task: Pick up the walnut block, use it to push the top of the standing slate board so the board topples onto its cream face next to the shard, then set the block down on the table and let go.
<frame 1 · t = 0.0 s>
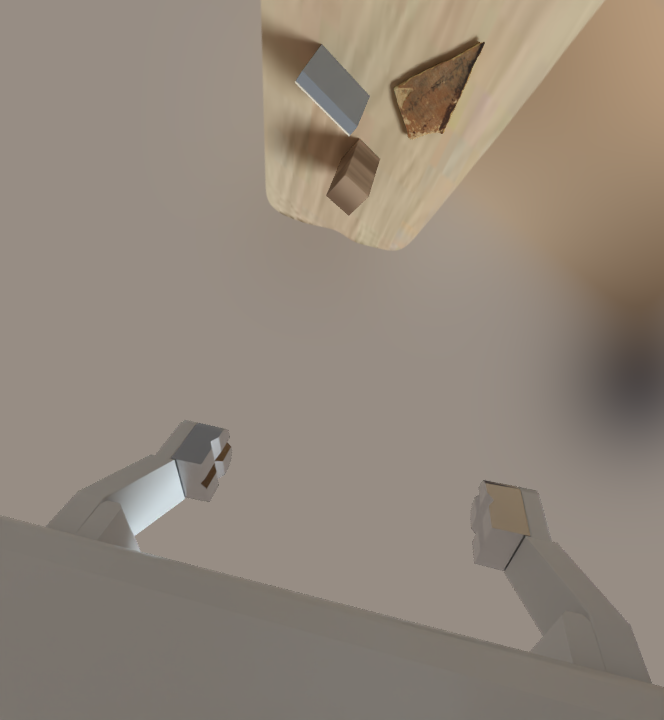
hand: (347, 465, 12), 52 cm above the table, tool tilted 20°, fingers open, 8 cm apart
walnut block: (360, 159, 57), on the table
shard: (429, 84, 48), on the table
slate board: (342, 76, 49), on the table
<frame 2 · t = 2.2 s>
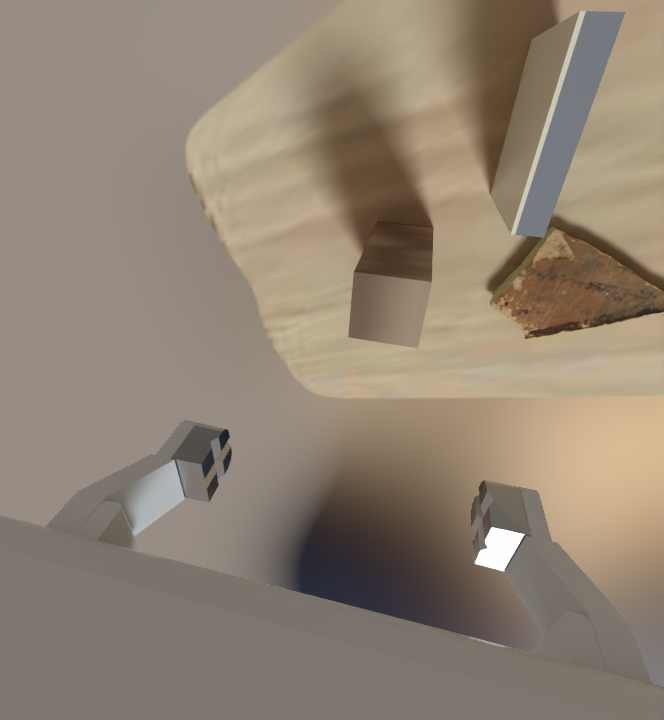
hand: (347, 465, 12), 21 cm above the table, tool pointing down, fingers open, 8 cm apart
walnut block: (401, 251, 29), on the table
shard: (576, 271, 28), on the table
slate board: (521, 125, 23), on the table
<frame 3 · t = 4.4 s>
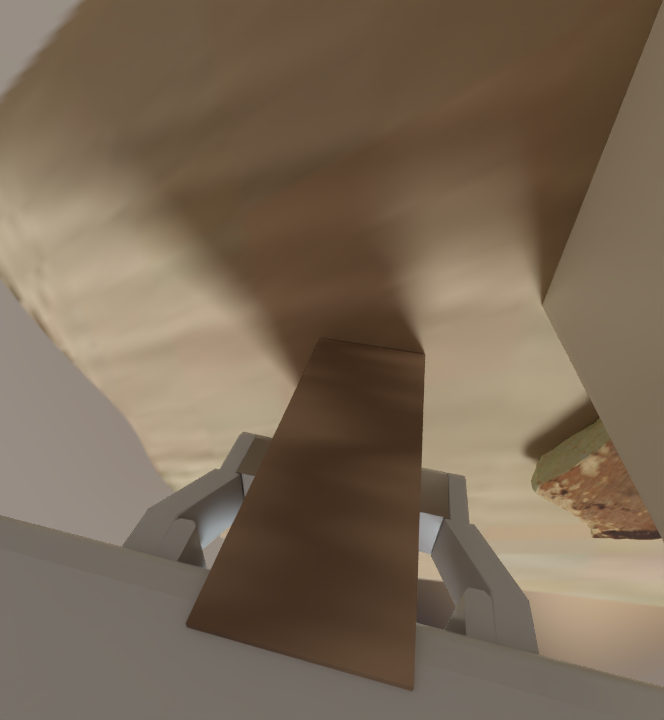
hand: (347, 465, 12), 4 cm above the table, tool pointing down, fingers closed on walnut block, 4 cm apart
walnut block: (366, 387, 16), on the table, touching gripper
slate board: (627, 170, 10), on the table
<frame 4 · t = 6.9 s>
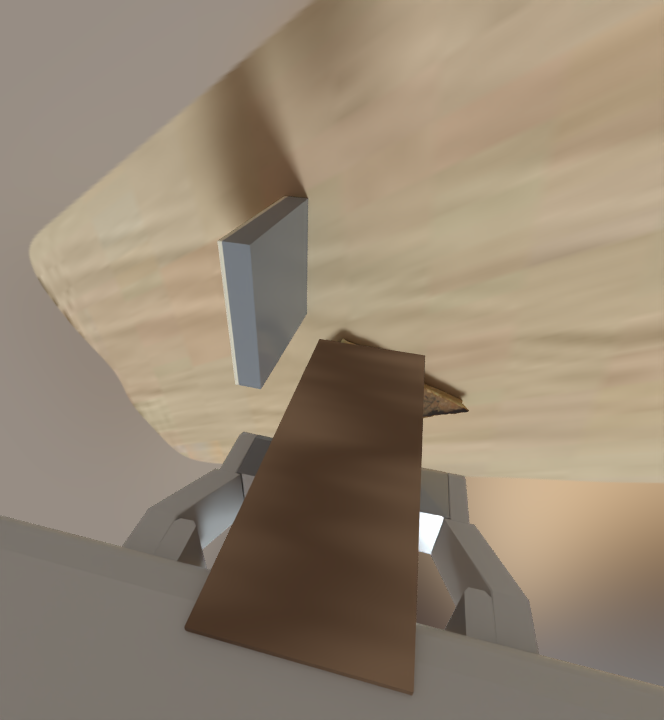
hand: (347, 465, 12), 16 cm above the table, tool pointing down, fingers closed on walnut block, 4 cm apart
walnut block: (366, 388, 16), point 12 cm above the table, touching gripper
shard: (379, 372, 31), on the table
slate board: (296, 259, 26), on the table
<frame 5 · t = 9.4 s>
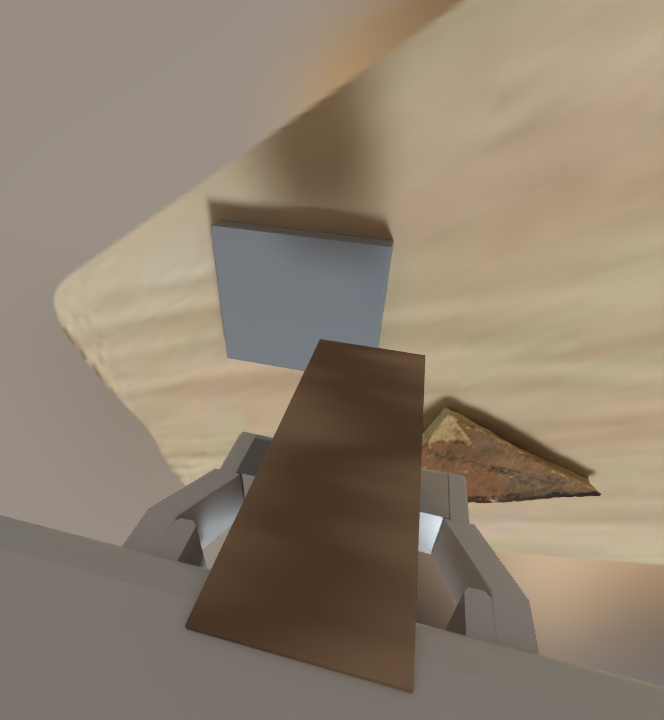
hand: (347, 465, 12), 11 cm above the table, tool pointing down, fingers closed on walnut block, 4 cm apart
walnut block: (366, 388, 16), point 6 cm above the table, touching gripper
shard: (482, 442, 25), on the table
slate board: (382, 316, 21), on the table, tilted 90°
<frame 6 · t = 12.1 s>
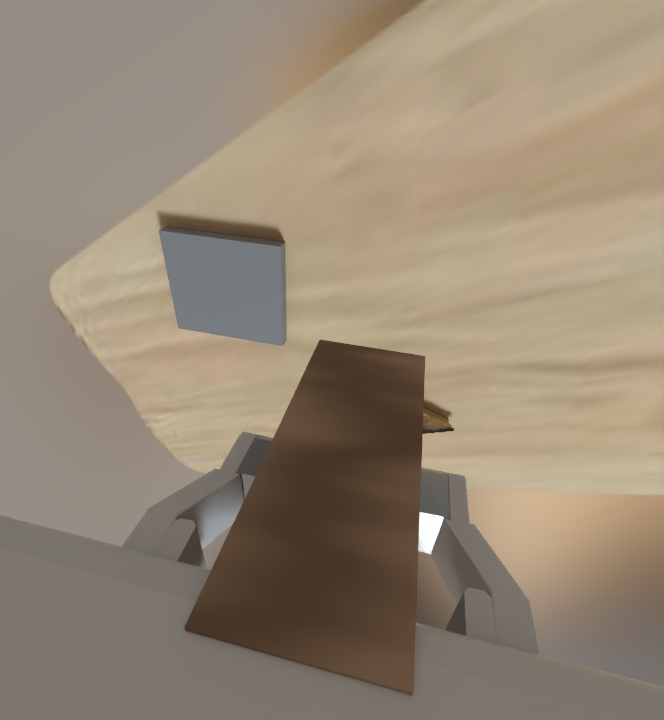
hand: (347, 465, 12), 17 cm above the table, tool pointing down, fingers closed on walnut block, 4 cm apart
walnut block: (366, 389, 16), point 13 cm above the table, touching gripper
shard: (373, 393, 33), on the table
slate board: (284, 296, 29), on the table, tilted 90°
when the fingers open (6 cm above the table, at t = 14.4 s): walnut block drops 2 cm, on the table.
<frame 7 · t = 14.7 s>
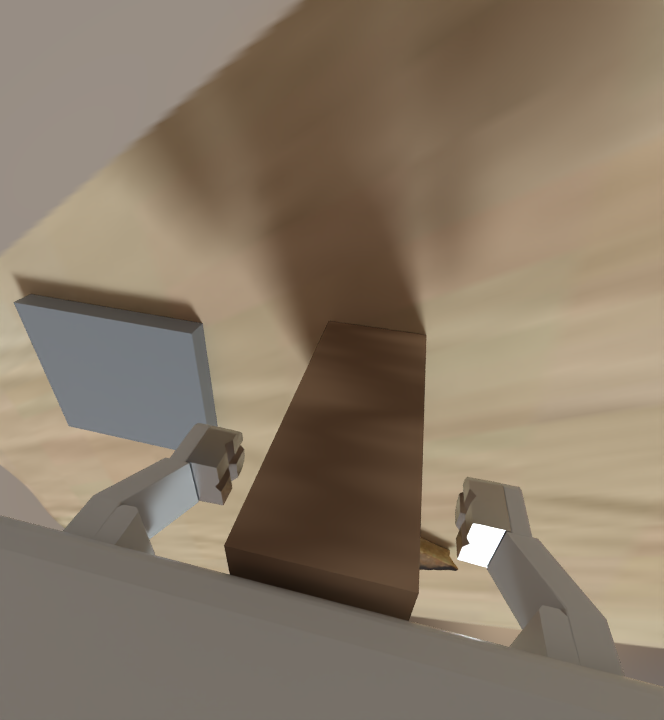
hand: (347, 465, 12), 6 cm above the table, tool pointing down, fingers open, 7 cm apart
walnut block: (371, 367, 17), on the table
shard: (344, 509, 24), on the table
slate board: (210, 394, 20), on the table, tilted 90°
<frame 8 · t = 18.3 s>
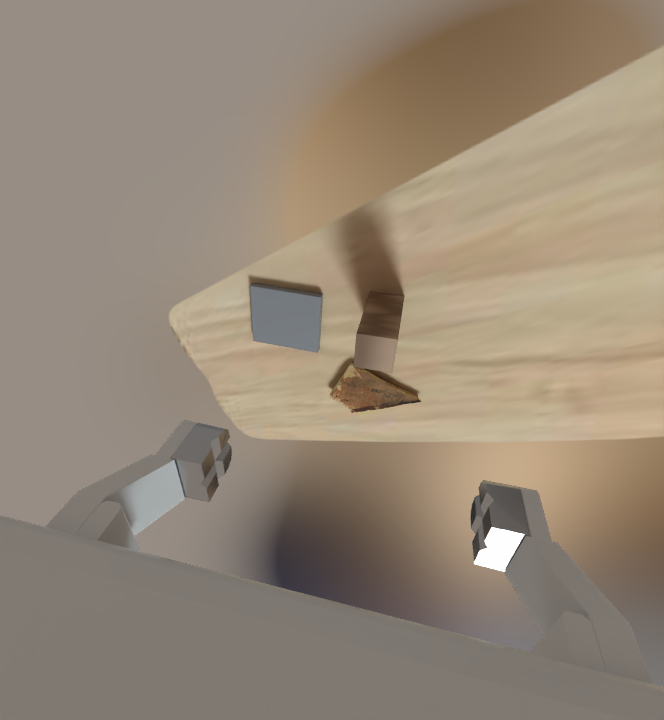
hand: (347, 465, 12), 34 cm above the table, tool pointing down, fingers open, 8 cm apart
walnut block: (385, 308, 47), on the table
shard: (371, 380, 54), on the table
slate board: (320, 323, 50), on the table, tilted 90°
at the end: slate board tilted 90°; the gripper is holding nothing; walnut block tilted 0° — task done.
